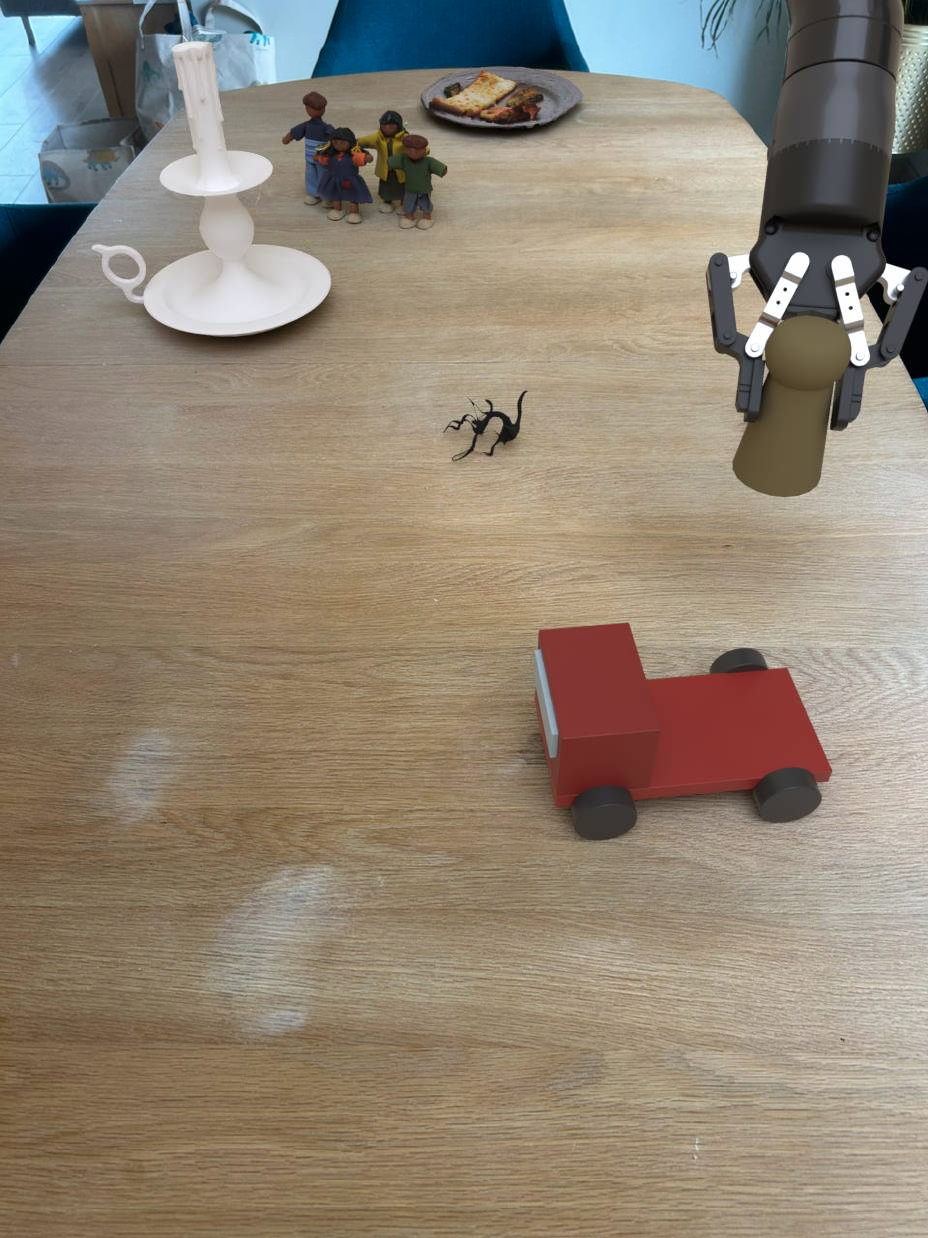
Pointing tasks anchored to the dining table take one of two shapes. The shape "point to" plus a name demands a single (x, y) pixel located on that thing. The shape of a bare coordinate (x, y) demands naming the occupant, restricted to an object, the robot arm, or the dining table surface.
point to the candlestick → (221, 232)
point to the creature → (506, 434)
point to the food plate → (501, 97)
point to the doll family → (340, 158)
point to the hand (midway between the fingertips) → (794, 423)
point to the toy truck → (668, 731)
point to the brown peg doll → (793, 407)
